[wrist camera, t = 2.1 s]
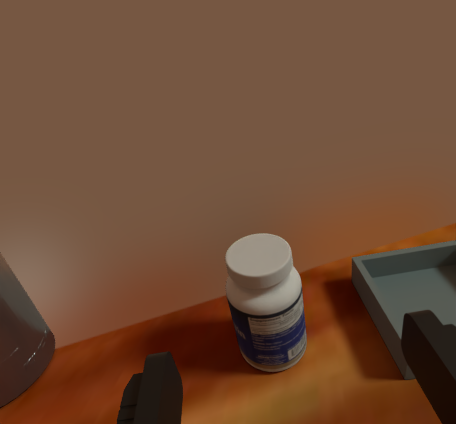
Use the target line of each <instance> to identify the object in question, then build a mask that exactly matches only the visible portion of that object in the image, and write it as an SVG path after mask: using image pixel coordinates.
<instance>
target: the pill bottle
mask: <svg viewBox="0 0 456 424" xmlns="http://www.w3.org/2000/svg"><path fill="white" fill-rule="evenodd" d="M225 261H226V266H227V271H228V274H229V276H228V278H227V282H226V295H227V299H228V303H229V307H230V311H231V315H232V319H233V323H234V327H235V331H236V336H237V340H238V344H239V348H240V351H241V353H242V355H243V357H244V358H245V360H246V361H247V362H248V363H249V364H250V365H252V366H253V367H255V368H257V369H260V370H262V371H268V372H277V371H282V370H285V369H288V368H290V367H292V366H293V365H295V364H296V363H297V362H298V361H299V360H300V359H301V357H302V356H303V354H304V352H305V349H306V343H307V338H306V327H305V317H304V307H303V295H302V285H301V279H300V276H299V274H298V272H297V270H296V269H295V268H294V267H293V260H292V253H291V248H290V246H289V244H288V243H287V242H286V241H285V240H284V239H282V238H281V237H278V236H276V235H272V234H253V235H249V236H246V237H244V238H241V239H239V240H237V241H236V242H235V243H233V244H232V245H231V246H230V248H229V249H228V251H227V253H226V257H225Z"/></svg>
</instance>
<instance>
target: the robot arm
mask: <svg viewBox="0 0 456 424" xmlns="http://www.w3.org/2000/svg"><path fill="white" fill-rule="evenodd" d="M401 348H402V352H403V355H404V358H405V360H406V362H407V364H408V366H409V367H410V369H411V371H412V373H413V374H414V376H415V378H416V379H417V381H418V383H419V385H420V386H421V388H422V390H423V392H424V393H425V395H426V397H427V398H428V400H429V402H430V404H431V405H432V407H433V409H434V410H435V412H436V414H437V416H438V417H439V419H440V421H441V423H442V424H456V326H455V325H453V324H447V325H443V324H442V323H441V322H440V320H439V319H438V318H437V316H436V315H435V314H434V313H433V312H432V311H431V310H423V311H417V312H410V313H405V314H404V318H403V327H402V337H401ZM54 350H55V338H54V335H53V333H52V332H51V330H50V329H49V327H48V326H47V324H46V322H45V321H44V319H43V318H42V316H41V315H40V313H39V312H38V310H37V309H36V307H35V305H34V304H33V302H32V301H31V299H30V298H29V296H28V294H27V293H26V291H25V290H24V288H23V287H22V285H21V284H20V282H19V281H18V279H17V278H16V276H15V274H14V273H13V272H12V270H11V268H10V267H9V265H8V264H7V262H6V261H5V259H4V258H3V256H2V254H1V253H0V407H2V406H4V405H5V404H7V403H9V402H10V401H12V400H13V399H15V398H16V397H18V396H19V395H20V394H21V393H23V392H24V391H25V390H26V389H28V388H29V387H30V386H31V385H32V384H33V383H34V382H35V381H36V380H37V379H38V377H39V376H40V375H41V374H42V372H43V371H44V370H45V368H46V367H47V365H48V363H49V362H50V360H51V358H52V355H53V353H54ZM182 401H183V387H182V380H181V377H180V374H179V372H178V369H177V367H176V365H175V362H174V360H173V357H172V355H171V353H170V352H169V351H168V352H162V353H156V354H150V355H148V356H147V357H146V360H145V365H144V370H143V373H138V374H133V376H132V378H131V379H130V381H129V383H128V384H127V386H126V388H125V389H124V392H123V397H122V401H121V405H120V410H119V414H118V418H117V424H181V414H182Z"/></svg>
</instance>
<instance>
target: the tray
mask: <svg viewBox="0 0 456 424" xmlns="http://www.w3.org/2000/svg"><path fill="white" fill-rule="evenodd" d="M352 283H353V285H354V287H355V288H356V290H357V292H358V294H359V296H360V298H361V300H362V301H363V303H364V305H365V307H366V309H367V311H368V313H369V314H370V316H371V318H372V320H373V322H374V324H375V325H376V327H377V329H378V331H379V333H380V335H381V337H382V338H383V340H384V342H385V344H386V346H387V348H388V350H389V351H390V353H391V355H392V357H393V359H394V361H395V362H396V364H397V366H398V368H399V370H400V372H401V374H402V375H403V377H404V379H405V380H408V379H415V376H414V374H413V373H412V371H411V369H410V367H409V366H408V364H407V362H406V360H405V358H404V355H403V352H402V348H401V337H402V327H403V318H404V314H405V313H410V312H417V311H423V310H431V311H432V312H433V313H434V314H435V315H436V316H437V318H438V319H439V320H440V322H441V323H442V324H443V325H447V324H453V325H455V326H456V240H455V241H449V242H443V243H437V244H431V245H425V246H419V247H413V248H407V249H401V250H395V251H389V252H383V253H377V254H371V255H365V256H359V257H353V258H352Z"/></svg>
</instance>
